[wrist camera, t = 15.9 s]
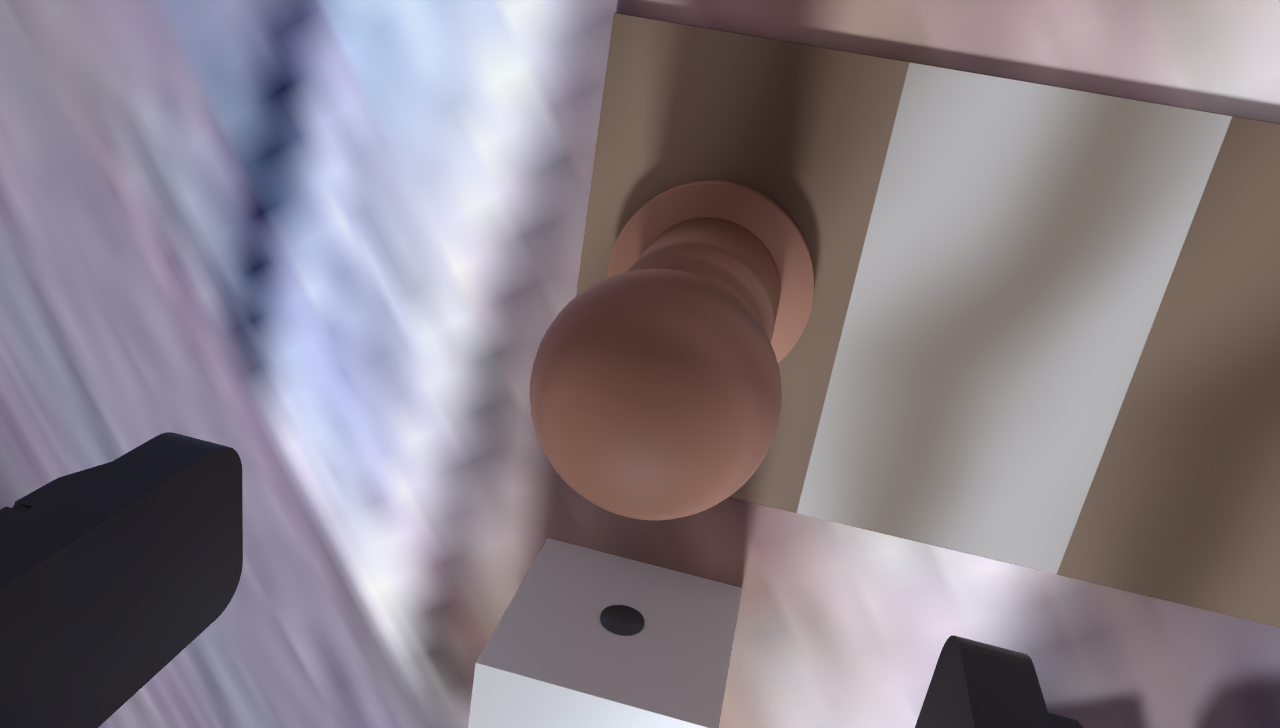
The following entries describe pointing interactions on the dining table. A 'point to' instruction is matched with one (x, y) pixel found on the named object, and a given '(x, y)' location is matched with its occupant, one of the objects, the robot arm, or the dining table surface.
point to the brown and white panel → (992, 303)
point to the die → (606, 646)
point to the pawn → (675, 353)
